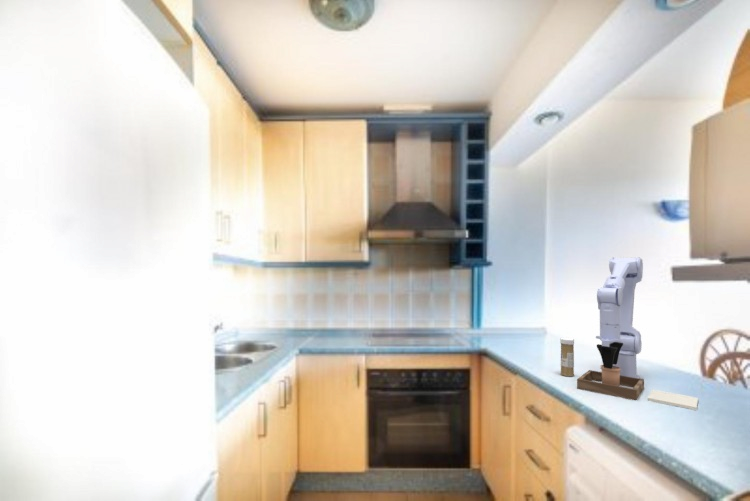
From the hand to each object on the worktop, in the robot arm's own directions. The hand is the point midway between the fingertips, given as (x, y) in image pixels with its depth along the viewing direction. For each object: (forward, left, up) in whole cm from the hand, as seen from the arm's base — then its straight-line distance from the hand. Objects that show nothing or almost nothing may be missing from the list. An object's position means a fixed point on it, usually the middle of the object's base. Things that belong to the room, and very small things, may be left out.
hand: (610, 366), depth 124 cm
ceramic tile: (0, +16, -7) cm, 18 cm away
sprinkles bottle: (-7, -15, -8) cm, 18 cm away
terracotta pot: (0, 0, -7) cm, 7 cm away
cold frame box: (0, 0, -7) cm, 7 cm away
